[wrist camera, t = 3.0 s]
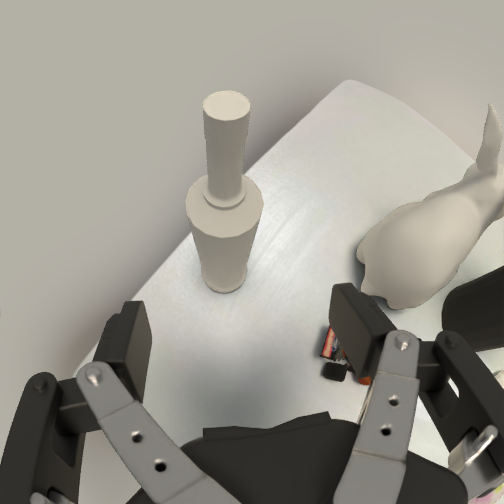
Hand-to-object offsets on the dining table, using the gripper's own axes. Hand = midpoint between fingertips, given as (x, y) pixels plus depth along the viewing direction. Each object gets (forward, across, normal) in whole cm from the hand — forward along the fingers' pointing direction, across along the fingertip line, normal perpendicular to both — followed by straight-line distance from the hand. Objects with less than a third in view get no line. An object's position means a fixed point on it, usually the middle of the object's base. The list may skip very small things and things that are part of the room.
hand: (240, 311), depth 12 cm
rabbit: (+21, -25, +10) cm, 34 cm away
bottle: (+21, 0, +10) cm, 23 cm away
